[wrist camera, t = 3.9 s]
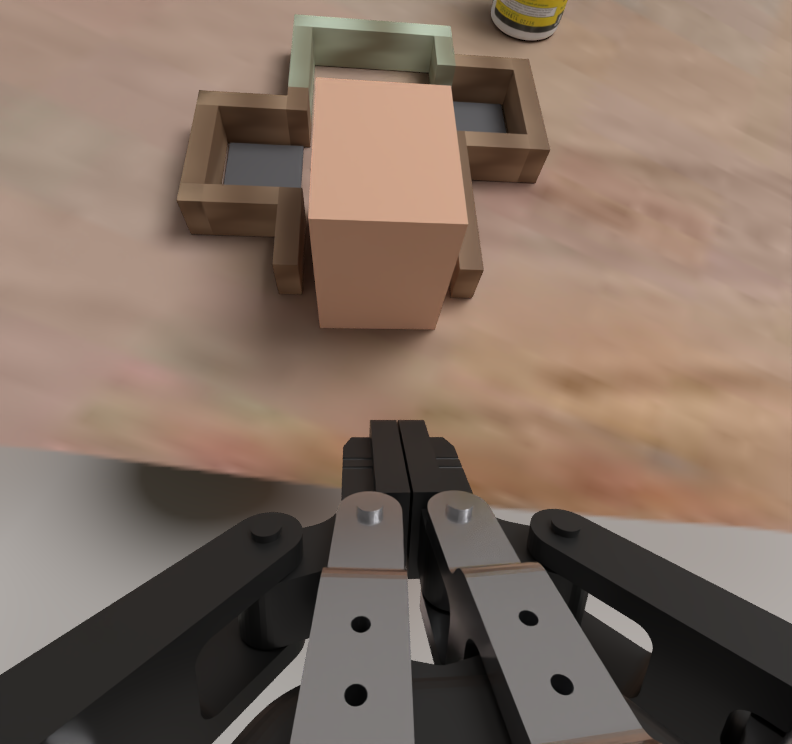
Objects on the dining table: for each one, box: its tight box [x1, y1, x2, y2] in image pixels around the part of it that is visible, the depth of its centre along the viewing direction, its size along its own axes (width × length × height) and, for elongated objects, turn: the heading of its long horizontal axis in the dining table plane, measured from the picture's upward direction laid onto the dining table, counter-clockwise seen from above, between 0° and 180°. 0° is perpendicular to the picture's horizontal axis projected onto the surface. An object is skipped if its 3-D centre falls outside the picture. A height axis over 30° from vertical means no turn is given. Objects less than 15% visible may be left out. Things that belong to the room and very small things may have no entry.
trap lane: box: [177, 14, 550, 298], centre depth 29 cm, size 20×20×2 cm
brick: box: [308, 77, 468, 330], centre depth 23 cm, size 6×8×8 cm
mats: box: [224, 101, 506, 188], centre depth 30 cm, size 18×11×1 cm, turn 92°
